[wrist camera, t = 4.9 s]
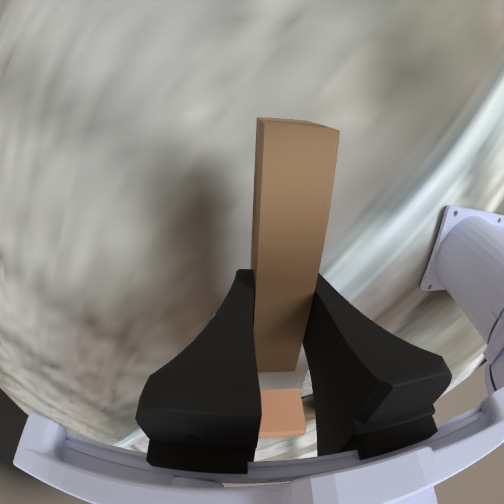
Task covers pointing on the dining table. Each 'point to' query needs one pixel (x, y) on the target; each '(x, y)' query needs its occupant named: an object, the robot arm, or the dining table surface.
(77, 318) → the dining table surface
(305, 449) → the dining table surface
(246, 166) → the dining table surface
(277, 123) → the tall wooden plank
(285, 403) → the tile
